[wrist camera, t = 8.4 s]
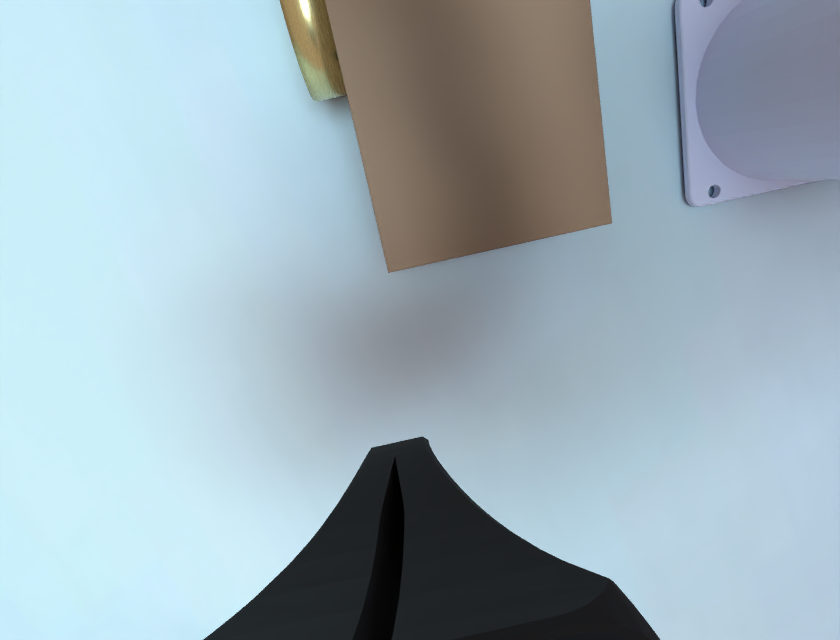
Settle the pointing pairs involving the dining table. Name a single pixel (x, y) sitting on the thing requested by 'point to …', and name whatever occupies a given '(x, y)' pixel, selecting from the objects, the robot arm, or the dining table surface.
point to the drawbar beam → (473, 121)
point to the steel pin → (314, 47)
